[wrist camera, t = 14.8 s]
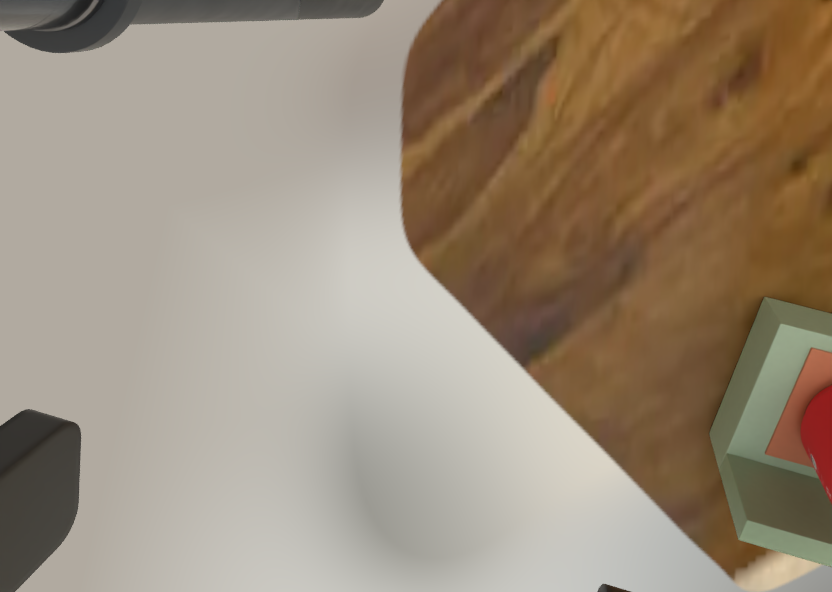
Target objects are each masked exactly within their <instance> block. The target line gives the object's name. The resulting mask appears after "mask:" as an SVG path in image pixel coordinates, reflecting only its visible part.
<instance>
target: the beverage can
mask: <svg viewBox="0 0 832 592" xmlns="http://www.w3.org/2000/svg"><path fill="white" fill-rule="evenodd" d="M800 433H801V440H802V444H803V446H804V449H805V451H806V453H807V455H808V457H809V459H810V461H811V463H812V465H813V467H814V469H815V471H816V473H817V475H818V477H819V479H820V481H821V484H822V486H823V488H824V490H825V492H826V494H827V496H828V498H829V500H830V502H831V504H832V385H829V386H827V387H825V388H824V389H822V390H821V391H819V392H818V393H817V394H816V395H815V396H814V397H813V398H812V399H811V400H810V402H809V403H808V405H807V407H806V410H805V413H804V417H803V420H802V423H801V431H800Z"/></svg>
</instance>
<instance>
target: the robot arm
mask: <svg viewBox="0 0 832 592" xmlns="http://www.w3.org/2000/svg"><path fill="white" fill-rule="evenodd" d="M103 2H104V0H0V31H19V30H36V31H63V30H68V29H71V28H74V27H77V26H79V25H81V24H82V23H84V22H86V21H87V20H88V19H90V18H91V17H92V16H93V15H94V14H95V13H96V12H97V10H98V9H99V8H100V7H101V5H102V3H103ZM80 449H81V432H80V428H79V426H78V425H77V424H76V423H74V422H71V421H68V420H64V419H61V418H57V417H54V416H51V415H48V414H44V413H41V412H38V411H35V410H30V409H28V410H24V411H21V412H20V413H18V414H17V415H15V416H14V417H12V418H11V419H10V420H8V421H7V422H5V423H4V424H3V425H1V426H0V592H15V591H16V590H17V589H18V588H19V587H20V586H21V585H22V584H23V583H24V582H25V581H26V580H27V579H28V578H29V577H30V576H31V575H32V574H33V573H34V572H35V570H37V569H38V568H39V566H40V565H41V564H42V563H43V562H44V561H45V560H46V559H47V558H48V557H49V556H50V555H51V554H52V553H53V552H54V551H55V550H56V549H57V548H58V547H59V546H60V545H61V543H62V542H63V541H64V539H65V538H66V536H67V535H68V533H69V531H70V529H71V527H72V525H73V523H74V520H75V517H76V514H77V510H78V503H79V476H80V475H79V474H80ZM598 592H630V591H626V590H623V589H620V588H617V587H613V586H610V585H607V584H602V585H601V587H600V588H599V590H598Z"/></svg>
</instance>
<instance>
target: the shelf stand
mask: <svg viewBox="0 0 832 592" xmlns="http://www.w3.org/2000/svg"><path fill="white" fill-rule="evenodd" d="M829 385H832V314H831V313H827V312H823V311H819V310H815V309H811V308H807V307H803V306H799V305H796V304H792V303H788V302H784V301H780V300H776V299H772V298H768V297H764V299H763V301H762V304H761V306H760V309H759V311H758V313H757V316H756V318H755V321H754V323H753V326H752V328H751V331H750V333H749V336H748V338H747V341H746V343H745V346H744V348H743V351H742V353H741V356H740V358H739V361H738V363H737V365H736V368H735V370H734V373H733V375H732V378H731V380H730V383H729V385H728V388H727V390H726V393H725V395H724V398H723V400H722V403H721V405H720V408H719V410H718V413H717V415H716V417H715V420H714V422H713V425H712V427H711V430H710V432H709V435H710V439H711V442H712V446H713V450H714V453H715V457H716V460H717V464H718V468H719V471H720V475H721V479H722V482H723V486H724V489H725V493H726V497H727V500H728V504H729V507H730V511H731V515H732V518H733V522H734V525H735V529H736V533H737V536H738V539H739V540H741V541H744V542H748V543H751V544H754V545H758V546H761V547H765V548H768V549H771V550H775V551H778V552H782V553H785V554H789V555H792V556H795V557H799V558H802V559H806V560H809V561H812V562H816V563H819V564H823V565H826V566H830V567H832V504H831V502H830V500H829V498H828V496H827V494H826V492H825V490H824V488H823V486H822V484H821V481H820V479H819V477H818V475H817V473H816V471H815V469H814V467H813V465H812V463H811V461H810V459H809V457H808V455H807V453H806V451H805V449H804V446H803V444H802V440H801V433H800V431H801V423H802V420H803V417H804V413H805V410H806V407H807V405H808V403H809V402H810V400H811V399H812V398H813V397H814V396H815V395H816V394H817V393H818V392H819V391H821V390H822V389H824V388H825V387H827V386H829Z"/></svg>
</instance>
